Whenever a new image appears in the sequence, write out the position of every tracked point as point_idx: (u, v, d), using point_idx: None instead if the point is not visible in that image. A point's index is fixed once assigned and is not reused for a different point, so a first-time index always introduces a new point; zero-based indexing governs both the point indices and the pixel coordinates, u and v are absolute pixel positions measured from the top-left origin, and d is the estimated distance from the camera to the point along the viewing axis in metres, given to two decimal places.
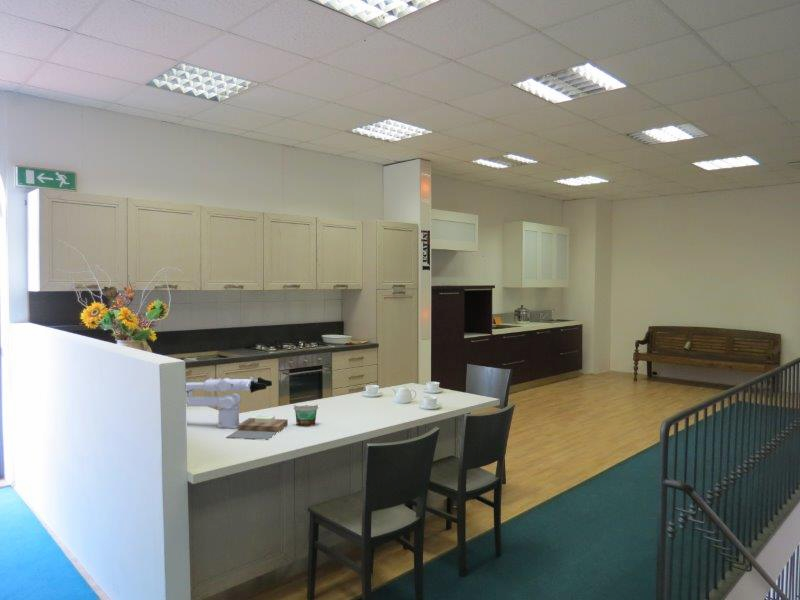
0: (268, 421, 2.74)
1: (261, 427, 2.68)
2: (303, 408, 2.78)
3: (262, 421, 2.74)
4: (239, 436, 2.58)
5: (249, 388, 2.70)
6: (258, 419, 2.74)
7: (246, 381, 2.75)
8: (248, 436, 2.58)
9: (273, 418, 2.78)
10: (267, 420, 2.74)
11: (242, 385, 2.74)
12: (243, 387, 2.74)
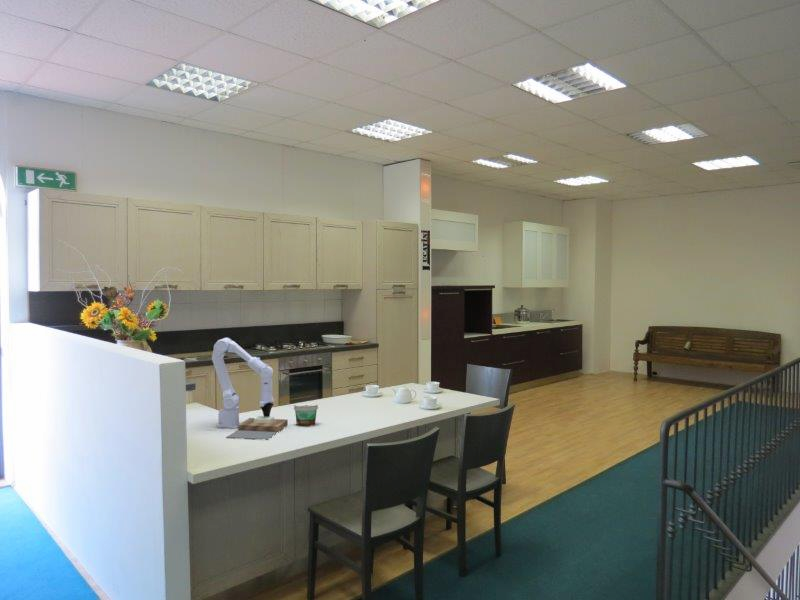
0: (268, 422, 2.72)
1: (261, 427, 2.68)
2: (303, 408, 2.78)
3: (261, 421, 2.73)
4: (239, 436, 2.58)
5: None
6: (257, 420, 2.73)
7: (269, 397, 2.77)
8: (248, 436, 2.58)
9: (272, 419, 2.76)
10: (267, 421, 2.72)
11: (265, 394, 2.76)
12: (263, 395, 2.77)
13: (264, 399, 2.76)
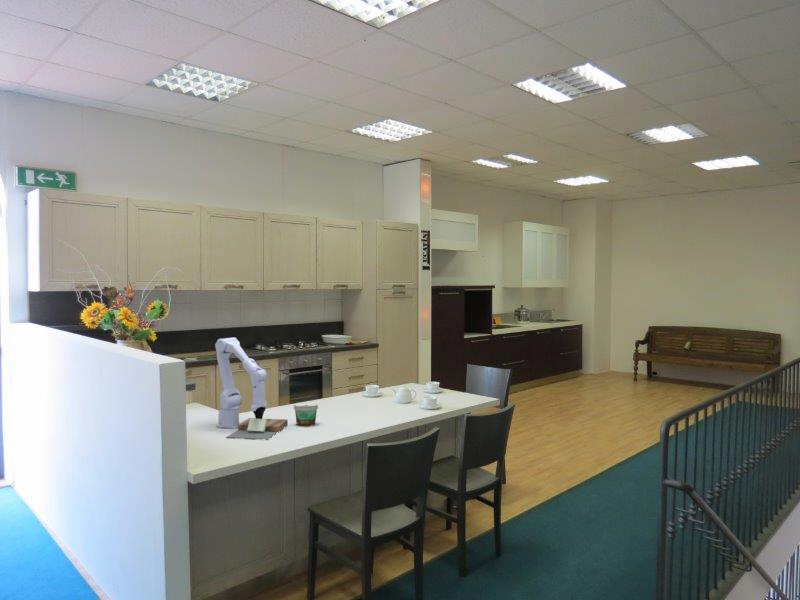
0: (262, 431, 2.65)
1: None
2: (303, 408, 2.78)
3: (256, 431, 2.65)
4: (239, 436, 2.58)
5: (252, 410, 2.63)
6: (251, 430, 2.65)
7: (261, 401, 2.67)
8: (248, 436, 2.58)
9: (265, 423, 2.67)
10: (261, 431, 2.65)
11: (257, 398, 2.66)
12: (255, 399, 2.67)
13: (256, 403, 2.67)
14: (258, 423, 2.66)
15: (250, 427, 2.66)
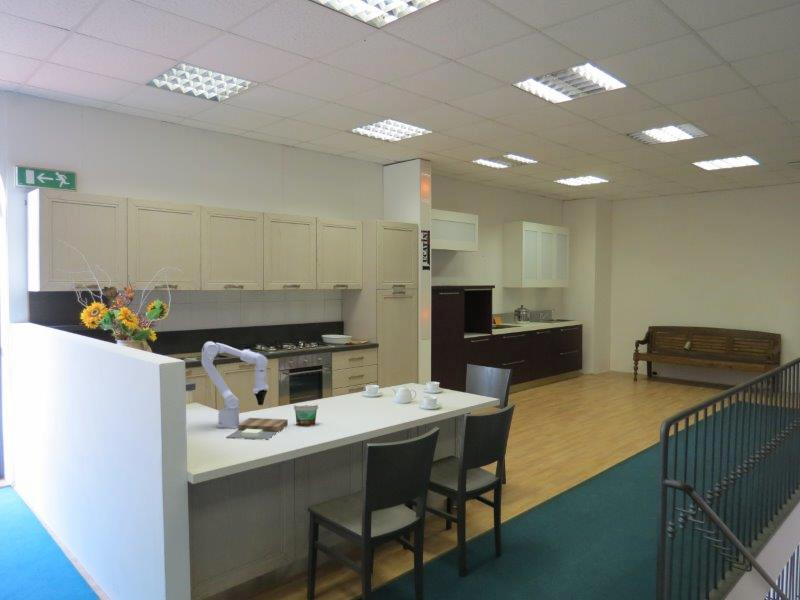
0: None
1: (261, 427, 2.68)
2: (303, 408, 2.78)
3: None
4: (239, 436, 2.58)
5: (254, 393, 2.78)
6: None
7: (263, 384, 2.82)
8: None
9: (259, 434, 2.59)
10: None
11: (258, 381, 2.81)
12: (257, 382, 2.82)
13: (258, 386, 2.81)
14: None
15: None
